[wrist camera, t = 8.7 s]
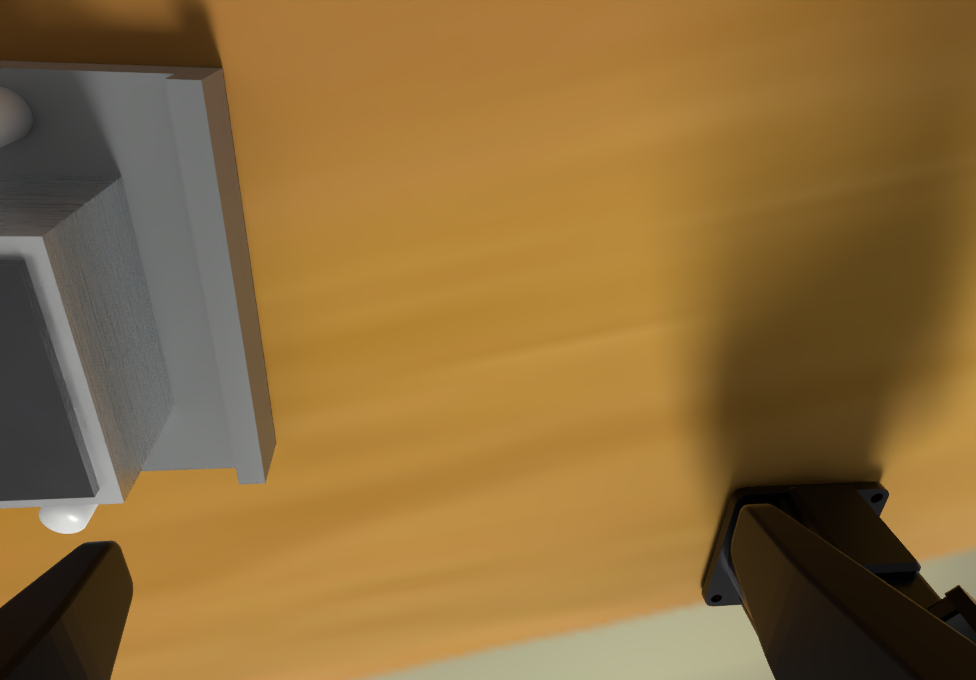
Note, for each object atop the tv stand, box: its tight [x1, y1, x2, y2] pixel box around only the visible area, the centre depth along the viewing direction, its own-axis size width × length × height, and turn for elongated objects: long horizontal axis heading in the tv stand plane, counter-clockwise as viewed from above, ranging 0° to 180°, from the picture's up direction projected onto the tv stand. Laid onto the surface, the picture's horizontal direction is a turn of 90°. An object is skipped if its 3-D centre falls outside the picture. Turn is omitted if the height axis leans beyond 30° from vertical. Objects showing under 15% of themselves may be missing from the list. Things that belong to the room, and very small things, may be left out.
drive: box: [0, 175, 175, 508], centre depth 16 cm, size 7×4×4 cm, turn 177°
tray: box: [0, 60, 276, 534], centre depth 17 cm, size 12×10×4 cm
